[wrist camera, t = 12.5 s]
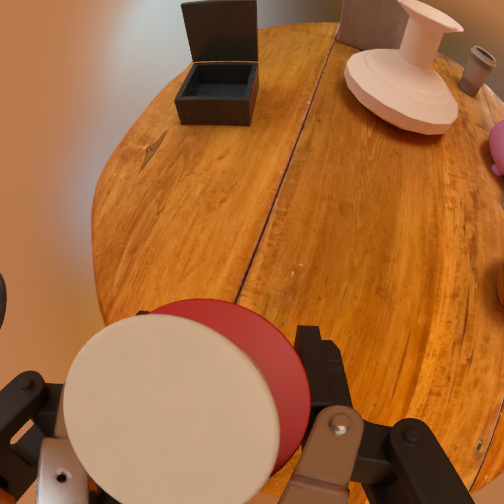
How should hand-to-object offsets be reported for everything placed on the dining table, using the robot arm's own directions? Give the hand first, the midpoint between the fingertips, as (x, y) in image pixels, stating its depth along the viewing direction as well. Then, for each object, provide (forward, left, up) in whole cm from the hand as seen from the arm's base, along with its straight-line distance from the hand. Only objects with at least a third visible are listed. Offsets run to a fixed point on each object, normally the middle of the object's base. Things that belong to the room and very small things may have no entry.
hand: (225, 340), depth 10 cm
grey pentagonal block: (+20, +62, -18) cm, 67 cm away
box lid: (-9, +38, -7) cm, 40 cm away
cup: (+43, +56, -18) cm, 73 cm away
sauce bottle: (0, -2, -6) cm, 6 cm away
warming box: (-9, +34, -18) cm, 39 cm away
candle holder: (+20, +40, -18) cm, 48 cm away
